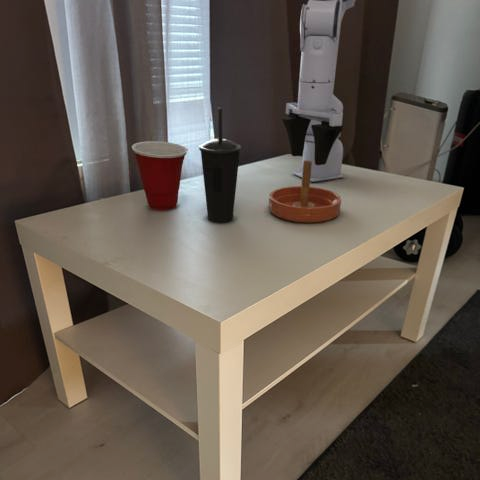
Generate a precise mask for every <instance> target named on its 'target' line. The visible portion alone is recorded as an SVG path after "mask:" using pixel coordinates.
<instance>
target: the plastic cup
mask: <svg viewBox="0 0 480 480" xmlns="http://www.w3.org/2000/svg"><path fill="white" fill-rule="evenodd" d="M131 150H132V151H133V153H134V156H135V160H136V164H137V166H138V171H139V176H140V179H141V184H142V187H143V191H144V194H145V198H146V202H147V204H148V207H149V208H150V209H152V210H155V211H169V210H173V209H175V208H176V207H177V205H178V202H179V201H178V199H179V191H180V187H181V180H182V179H181V178H182V171H183V165H184V161H185V157H186V155H187V154H188V148H187V147H186V146H184V145H181V144H179V143H173V142H168V141H159V140H157V141H156V140H155V141H154V140H153V141H152V140H151V141H140V142H136V143H133V144H132V145H131Z"/></svg>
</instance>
